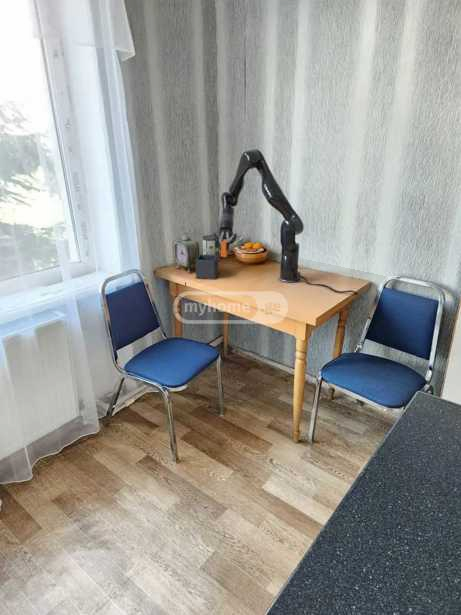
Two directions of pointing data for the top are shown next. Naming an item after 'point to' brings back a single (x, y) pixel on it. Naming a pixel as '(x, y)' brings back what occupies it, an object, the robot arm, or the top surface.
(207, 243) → the lantern
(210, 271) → the bin
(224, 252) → the packet
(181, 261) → the tabletop clock
